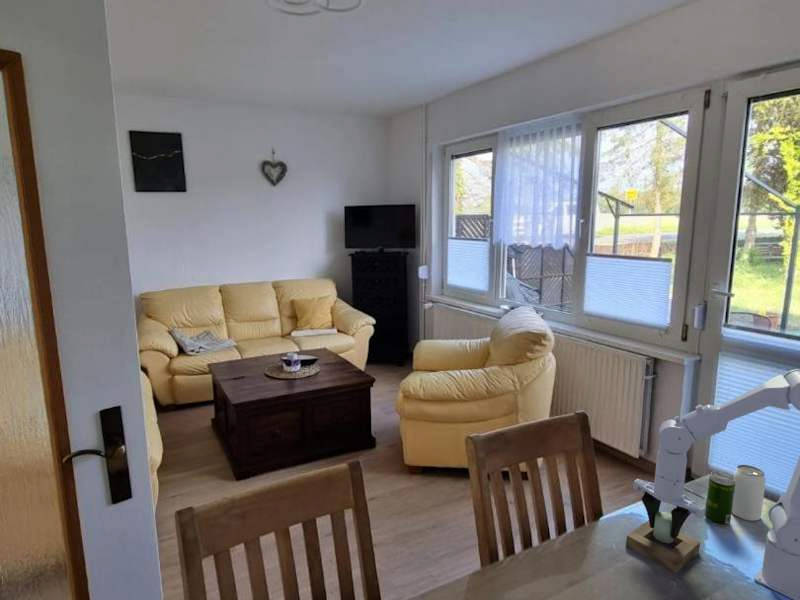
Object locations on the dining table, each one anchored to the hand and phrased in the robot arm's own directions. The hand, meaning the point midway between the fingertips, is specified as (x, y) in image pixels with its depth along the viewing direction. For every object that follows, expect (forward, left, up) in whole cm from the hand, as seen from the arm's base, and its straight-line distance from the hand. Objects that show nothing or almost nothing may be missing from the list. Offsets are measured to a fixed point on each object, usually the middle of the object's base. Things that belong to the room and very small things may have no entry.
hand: (663, 531), depth 111 cm
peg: (0, 0, -1) cm, 1 cm away
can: (-6, -31, -4) cm, 32 cm away
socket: (0, 0, -4) cm, 4 cm away
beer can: (-3, -22, -4) cm, 23 cm away
